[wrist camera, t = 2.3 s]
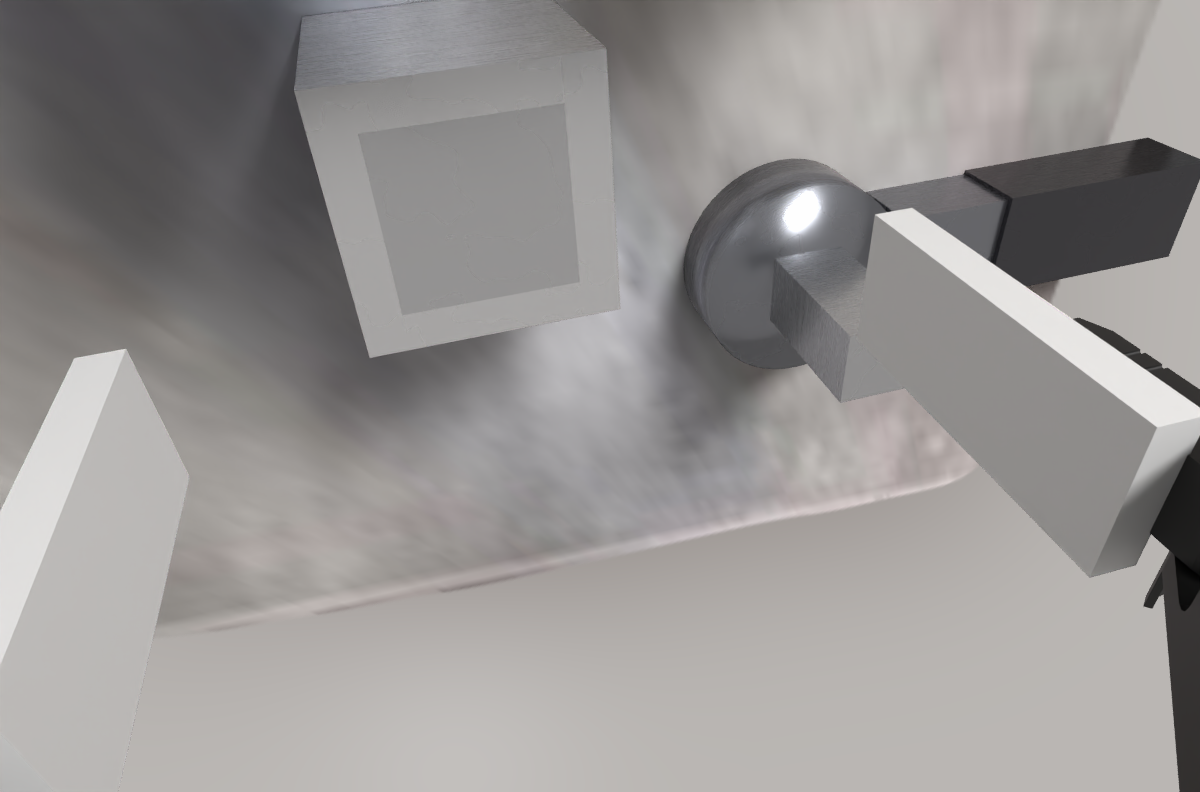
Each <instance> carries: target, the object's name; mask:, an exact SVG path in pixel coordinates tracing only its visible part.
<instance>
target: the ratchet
mask: <svg viewBox="0 0 1200 792" xmlns="http://www.w3.org/2000/svg"><path fill="white" fill-rule="evenodd" d="M1199 180H1200V159H1198V158H1196V157H1193V156H1191V155H1189V154H1186V153H1184V152H1181V151H1179V150H1177V149H1174V148H1172V147H1169V146H1167V145H1164V144H1162V143H1160V142H1157V141H1155V140H1152V139H1150V138H1143V139H1138V140H1132V141H1126V142H1121V143H1115V144H1109V145H1105V146H1100V147H1094V148H1089V149H1083V150H1077V151H1072V152H1066V153H1060V154H1055V155H1049V156H1044V157H1038V158H1032V159H1027V160H1021V161H1016V162H1010V163H1004V164H999V165H993V166H988V167H982V168H976V169H971V170H965V174H964V175H958V176H953V177H947V178H941V179H936V180H930V181H925V182H919V183H914V184H908V185H902V186H897V187H891V188H886V189H880V190H874V191H869V192H867V193H865V192H864V191H863V190H861V189H860V188H858V187H857V186H856V185H854V184H853V183H852V182H850V181H849V180H848V179H846V178H845V177H843V176H842V175H841V174H839V173H838V172H837V171H835V170H834V169H832V168H830V167H828V166H827V165H824V164H821V163H819V162H816V161H811V160H806V159H787V160H779V161H775V162H771V163H767V164H764V165H762V166H759V167H756V168H754V169H752V170H750V171H748V172H746V173H744V174H743V175H741V176H740V177H738V178H737V179H735V180H734V181H732V182H731V183H730V184H729V185H727V186H726V187H725V188H724V189H723V190H722V191H721V192H720V193H719V194H718V195H717V196H716V197H715V198H714V199H713V200H712V201H711V202H710V204H709V205H708V206H707V207H706V209H705V210H704V211H703V213H702V215H701V216H700V218H699V219H698V221H697V223H696V225H695V227H694V229H693V231H692V233H691V236H690V239H689V242H688V245H687V249H686V254H685V259H684V280H685V285H686V289H687V293H688V295H689V298H690V300H691V302H692V304H693V305H694V307H695V309H696V310H697V311H698V313H699V314H700V316H701V317H702V318H703V320H704V321H705V323H706V324H707V325H708V327H709V328H710V329H711V331H712V332H713V334H714V335H715V336H716V338H717V339H718V340H719V342H720V343H721V344H722V346H723V347H724V348H725V349H726V350H727V351H728V352H729V353H730V354H731V355H733V356H734V357H735V358H737V359H739V360H740V361H742V362H744V363H747V364H749V365H752V366H756V367H760V368H768V369H785V368H791V367H797V366H800V365H804V364H808V365H809V367H810V368H811V369H812V370H813V371H814V372H815V374H816V375H817V376H818V377H819V378H820V379H821V381H822V382H823V383H824V384H825V385H826V387H827V388H828V389H829V390H830V391H831V392H832V394H833V395H834V396H835V397H836V398H837V399H838V401H839V402H840V403H842V402H846V401H851V400H855V399H859V398H864V397H868V396H873V395H877V394H881V393H886V392H890V391H895V390H899V389H903V388H904V387H903V386H902V385H901V384H900V383H899V382H898V381H897V380H896V379H895V378H894V377H893V376H892V375H891V374H890V373H889V372H888V371H887V370H886V369H885V368H884V367H883V366H882V365H881V364H880V363H879V362H878V361H877V360H876V359H875V358H874V357H873V355H872V354H871V353H870V352H869V351H868V350H867V349H866V348H865V347H864V346H863V345H862V344H861V343H860V342H859V341H858V340H857V339H856V338H857V331H858V324H859V318H860V311H861V304H862V298H863V291H864V284H865V278H866V271H867V264H868V258H869V251H870V244H871V238H872V231H873V224H874V218H875V214H880V213H886V212H891V211H897V210H902V209H908V208H913V209H915V210H916V211H917V212H919V213H920V214H922V215H923V216H925V217H926V218H928V219H929V220H930V221H932V222H933V223H935V224H936V225H938V226H939V227H941V228H942V229H943V230H945V231H946V232H948V233H949V234H951V235H952V236H953V237H955V238H956V239H958V240H959V241H961V242H962V243H964V244H965V245H966V246H968V247H969V248H971V249H972V250H974V251H975V252H977V253H978V254H979V255H981V256H982V257H984V258H985V259H987V260H988V261H989V262H991V263H992V264H994V265H995V266H997V267H998V268H1000V269H1001V270H1002V271H1004V272H1005V273H1007V274H1008V275H1010V276H1011V277H1013V278H1014V279H1015V280H1017V281H1018V282H1020V283H1021V284H1023V285H1024V286H1030V285H1035V284H1039V283H1044V282H1049V281H1054V280H1058V279H1063V278H1068V277H1073V276H1077V275H1082V274H1087V273H1092V272H1097V271H1101V270H1106V269H1111V268H1116V267H1120V266H1125V265H1130V264H1135V263H1140V262H1144V261H1149V260H1153V259H1158V258H1163V257H1168V256H1169V254H1170V251H1171V249H1172V246H1173V244H1174V241H1175V239H1176V236H1177V234H1178V231H1179V229H1180V227H1181V224H1182V222H1183V219H1184V217H1185V214H1186V212H1187V209H1188V207H1189V204H1190V202H1191V200H1192V197H1193V194H1194V192H1195V190H1196V187H1197V185H1198V182H1199Z"/></svg>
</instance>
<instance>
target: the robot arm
mask: <svg viewBox="0 0 1200 792" xmlns="http://www.w3.org/2000/svg"><path fill="white" fill-rule="evenodd" d="M856 339H857V340H858V341H859V342H860V343H861V344H862V345H863V346H864V347H865V348H866V349H867V350H868V351H869V352H870V353H871V354H872V355H873V357H874V358H875V359H876V360H877V361H878V362H879V363H880V364H881V365H882V366H883V367H884V368H885V369H886V370H887V371H888V372H889V373H890V374H891V375H892V376H893V377H894V378H895V379H896V380H897V381H898V382H899V383H900V384H901V385H902V386H903V387H904V388H905V389H906V390H907V391H908V392H909V393H910V394H911V395H912V396H913V397H914V398H915V399H916V401H917V402H918V403H919V404H920V405H921V406H922V407H923V408H924V409H925V410H926V411H927V412H928V413H929V414H930V415H931V416H932V417H933V418H934V419H935V420H936V421H937V422H938V423H939V424H940V425H941V426H942V427H943V428H944V429H945V430H946V431H947V432H948V433H949V434H950V435H951V436H952V437H953V438H954V439H955V440H956V441H957V442H958V443H959V445H960V446H961V447H962V448H963V449H964V450H965V451H966V452H967V453H968V454H969V455H970V456H971V457H972V458H973V459H974V460H975V461H976V462H977V463H978V464H979V465H980V466H981V467H982V468H983V469H984V470H985V471H986V472H987V473H988V474H989V475H990V476H991V477H992V478H993V479H994V480H995V481H996V482H997V483H998V484H999V485H1000V486H1001V487H1002V488H1003V489H1004V491H1005V492H1007V493H1008V495H1009V496H1011V498H1012V499H1013V500H1014V501H1015V502H1016V503H1017V504H1018V505H1019V506H1020V507H1021V508H1022V509H1023V510H1024V511H1025V512H1026V513H1027V514H1028V515H1029V516H1030V517H1031V518H1032V519H1033V520H1034V521H1035V522H1036V523H1037V524H1038V525H1039V526H1040V527H1041V528H1042V529H1043V530H1044V531H1045V532H1046V533H1047V535H1048V536H1049V537H1050V538H1052V540H1053V541H1054V542H1055V543H1056V544H1057V545H1058V546H1059V547H1060V548H1061V549H1062V550H1063V551H1064V552H1065V553H1066V554H1067V555H1068V556H1069V557H1070V558H1071V559H1072V560H1073V561H1074V562H1075V563H1076V564H1077V565H1078V566H1079V567H1080V568H1081V569H1082V570H1083V571H1084V572H1085V573H1086V574H1087V575H1088V576H1089V578H1090V577H1094V576H1098V575H1101V574H1105V573H1109V572H1112V571H1116V570H1120V569H1123V568H1127V567H1131V566H1134V565H1136V564H1137V562H1138V559H1139V558H1140V556H1141V554H1142V551H1143V549H1144V547H1145V545H1146V543H1147V541H1148V539H1149V537H1150V535H1151V534H1152V535H1153V536H1154V537H1155V538H1156V539H1157V540H1158V541H1159V542H1161V543H1162V544H1163V545H1164V546H1165V547H1166V548H1167V549H1169V550H1170V551H1169V553H1168V555H1167V557H1166V559H1165V561H1164V563H1163V564H1162V566H1161V568H1160V570H1159V572H1158V574H1157V576H1156V578H1155V580H1154V582H1153V584H1152V585H1151V587H1150V589H1149V591H1148V593H1147V595H1146V598H1145V602H1144V606H1145V607H1148V608H1153V606H1154V604H1155V602H1156V601H1157V599H1158V597H1159V596H1161V595H1163V594H1164V604H1165V617H1166V628H1167V641H1168V653H1169V666H1170V678H1171V691H1172V703H1173V716H1174V728H1175V740H1176V753H1177V765H1178V778H1179V789H1180V792H1200V389H1198V388H1197V387H1195V386H1194V385H1192V384H1191V383H1189V382H1188V381H1186V380H1185V379H1183V378H1182V377H1180V376H1179V375H1177V374H1176V373H1174V372H1173V371H1172V370H1170V369H1169V368H1165V369H1163V368H1162V364H1161V363H1159V362H1158V361H1157V360H1155V359H1154V358H1152V357H1151V356H1149V355H1148V354H1146V353H1143V354H1141V353H1140V349H1139V348H1137V347H1136V346H1134V345H1133V344H1131V343H1130V342H1128V341H1127V340H1125V339H1124V338H1123V337H1121V336H1120V335H1118V334H1116V333H1115V332H1114V331H1111V330H1109V329H1106V328H1104V327H1101V326H1099V325H1096V324H1093V323H1091V322H1088V321H1086V320H1083V319H1081V318H1075V319H1072V318H1070V317H1069V316H1067V315H1066V314H1064V313H1063V312H1062V311H1060V310H1058V309H1057V308H1056V307H1054V306H1053V305H1051V304H1050V303H1049V302H1047V301H1046V300H1044V299H1043V298H1041V297H1040V296H1038V295H1037V294H1036V293H1034V292H1033V291H1031V290H1030V289H1028V288H1027V287H1026V286H1024V285H1023V284H1021V283H1020V282H1018V281H1017V280H1015V279H1014V278H1013V277H1011V276H1010V275H1008V274H1007V273H1005V272H1004V271H1002V270H1001V269H1000V268H998V267H997V266H995V265H994V264H992V263H991V262H989V261H988V260H987V259H985V258H984V257H982V256H981V255H979V254H978V253H977V252H975V251H974V250H972V249H971V248H969V247H968V246H966V245H965V244H964V243H962V242H961V241H959V240H958V239H956V238H955V237H953V236H952V235H951V234H949V233H948V232H946V231H945V230H943V229H942V228H941V227H939V226H938V225H936V224H935V223H933V222H932V221H930V220H929V219H928V218H926V217H925V216H923V215H922V214H920V213H919V212H917V211H916V210H915V209H913V208H908V209H902V210H897V211H891V212H886V213H880V214H875V218H874V224H873V231H872V238H871V244H870V251H869V258H868V264H867V271H866V278H865V284H864V291H863V298H862V304H861V311H860V318H859V324H858V331H857V338H856ZM188 481H189V475H188V473H187V471H186V468H185V466H184V464H183V462H182V460H181V458H180V456H179V454H178V452H177V450H176V448H175V446H174V444H173V442H172V440H171V438H170V436H169V434H168V432H167V430H166V428H165V426H164V424H163V422H162V420H161V418H160V416H159V414H158V412H157V410H156V408H155V406H154V404H153V402H152V400H151V398H150V396H149V394H148V392H147V390H146V388H145V386H144V384H143V382H142V380H141V378H140V376H139V374H138V372H137V370H136V368H135V366H134V364H133V362H132V360H131V358H130V356H129V354H128V352H127V350H126V349H122V350H117V351H111V352H106V353H100V354H95V355H89V356H83V357H78V358H74V360H73V362H72V364H71V367H70V369H69V371H68V373H67V375H66V377H65V379H64V381H63V383H62V385H61V387H60V389H59V391H58V393H57V395H56V397H55V400H54V402H53V404H52V406H51V408H50V410H49V412H48V414H47V416H46V418H45V420H44V422H43V424H42V426H41V428H40V430H39V433H38V435H37V437H36V439H35V441H34V443H33V445H32V447H31V449H30V451H29V453H28V455H27V457H26V459H25V461H24V463H23V466H22V468H21V470H20V472H19V474H18V476H17V478H16V480H15V482H14V484H13V486H12V488H11V490H10V492H9V494H8V496H7V499H6V501H5V503H4V505H3V507H2V509H1V511H0V792H118V791H119V787H120V782H121V778H122V774H123V769H124V764H125V760H126V756H127V751H128V747H129V742H130V738H131V733H132V729H133V725H134V720H135V716H136V711H137V707H138V702H139V698H140V694H141V689H142V685H143V681H144V676H145V672H146V667H147V663H148V658H149V654H150V650H151V645H152V641H153V636H154V632H155V628H156V623H157V619H158V614H159V610H160V605H161V601H162V597H163V592H164V588H165V583H166V579H167V574H168V570H169V566H170V561H171V557H172V552H173V548H174V543H175V539H176V535H177V530H178V526H179V521H180V517H181V512H182V508H183V504H184V499H185V495H186V490H187V486H188Z"/></svg>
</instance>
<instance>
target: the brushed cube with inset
mask: <svg viewBox="0 0 1200 792" xmlns="http://www.w3.org/2000/svg"><path fill="white" fill-rule="evenodd" d="M294 93H295V96H296V100H297V103H298V107H299V110H300V114H301V117H302V121H303V124H304V128H305V131H306V135H307V139H308V142H309V146H310V149H311V153H312V156H313V160H314V163H315V167H316V170H317V174H318V177H319V181H320V184H321V188H322V191H323V195H324V198H325V202H326V206H327V209H328V213H329V216H330V220H331V223H332V227H333V230H334V234H335V237H336V241H337V244H338V248H339V251H340V255H341V258H342V262H343V265H344V269H345V272H346V276H347V280H348V283H349V287H350V290H351V294H352V297H353V301H354V304H355V308H356V311H357V315H358V318H359V322H360V325H361V329H362V332H363V336H364V339H365V343H366V347H367V350H368V354H369V357H370V358H372V357H377V356H382V355H388V354H393V353H398V352H403V351H408V350H413V349H418V348H423V347H428V346H434V345H439V344H444V343H449V342H454V341H459V340H464V339H469V338H474V337H480V336H485V335H490V334H495V333H500V332H505V331H510V330H515V329H521V328H526V327H531V326H536V325H541V324H546V323H551V322H556V321H561V320H567V319H572V318H577V317H582V316H587V315H592V314H597V313H602V312H607V311H613V310H618V309H620V294H619V275H618V256H617V237H616V218H615V199H614V180H613V162H612V143H611V124H610V105H609V86H608V67H607V48H606V47H605V46H603V45H602V44H601V43H600V42H599V41H598V40H597V39H596V38H594V37H593V36H592V35H591V34H590V33H589V32H588V31H587V30H585V29H584V28H583V27H582V26H581V25H580V24H579V23H578V22H576V21H575V20H574V19H573V18H572V17H571V16H570V15H569V14H568V13H566V12H565V11H564V10H563V9H562V8H561V7H560V6H559V5H557V4H556V3H555V2H554V1H553V0H435V1H427V2H419V3H410V4H402V5H394V6H386V7H377V8H369V9H361V10H353V11H344V12H336V13H328V14H320V15H312V16H303V17H302V23H301V33H300V42H299V51H298V60H297V69H296V78H295V87H294Z"/></svg>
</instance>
